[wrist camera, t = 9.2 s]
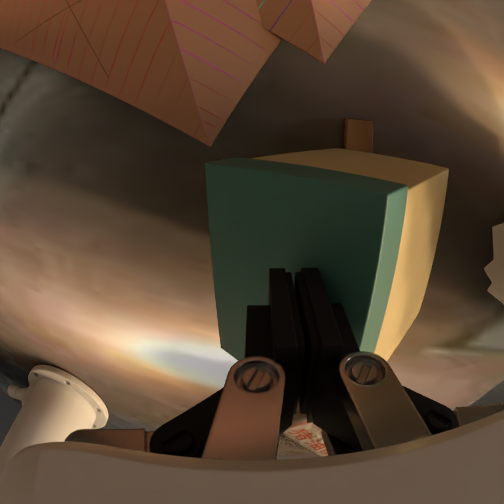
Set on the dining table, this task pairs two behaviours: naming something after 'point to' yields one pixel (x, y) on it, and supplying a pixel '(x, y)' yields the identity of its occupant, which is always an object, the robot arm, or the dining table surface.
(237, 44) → the house
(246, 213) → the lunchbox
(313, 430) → the packaged product
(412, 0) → the dining table surface
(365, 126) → the oak strip
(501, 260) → the spiral staircase
